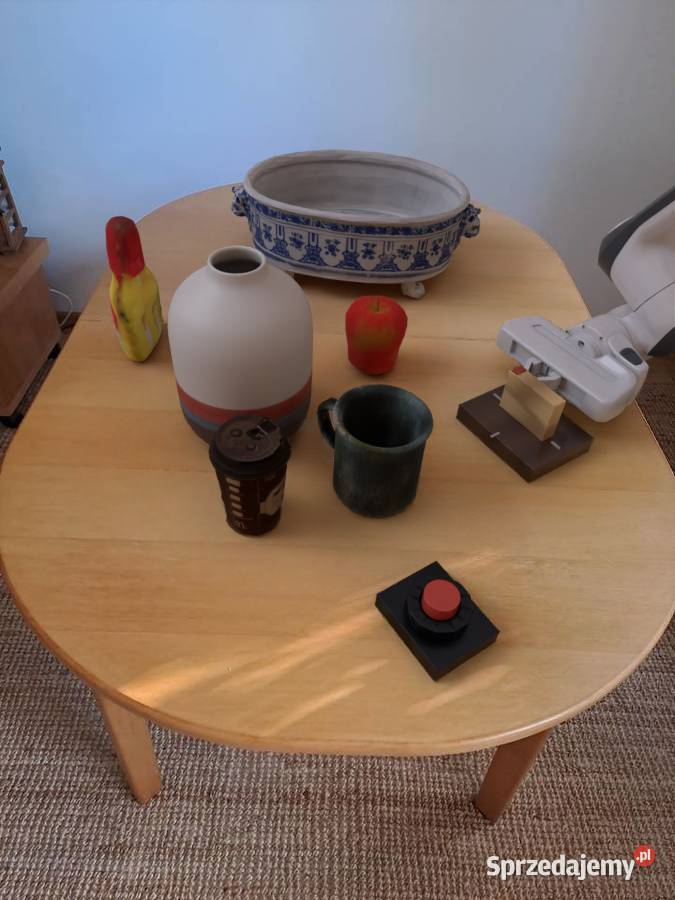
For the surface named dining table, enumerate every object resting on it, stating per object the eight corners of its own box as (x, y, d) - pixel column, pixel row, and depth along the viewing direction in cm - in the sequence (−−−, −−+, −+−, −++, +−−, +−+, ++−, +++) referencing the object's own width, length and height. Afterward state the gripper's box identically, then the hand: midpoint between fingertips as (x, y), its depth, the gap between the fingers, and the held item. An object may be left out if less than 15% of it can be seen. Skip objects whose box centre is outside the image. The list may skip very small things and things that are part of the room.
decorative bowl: (217, 292, 110) (209, 205, 100) (246, 217, 129) (241, 137, 118) (475, 314, 109) (495, 228, 99) (466, 235, 128) (482, 156, 117)
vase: (291, 477, 83) (290, 315, 66) (162, 450, 85) (129, 287, 68) (324, 391, 94) (331, 235, 77) (210, 369, 96) (192, 213, 80)
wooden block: (553, 436, 86) (567, 399, 82) (542, 441, 85) (555, 405, 81) (509, 400, 91) (521, 364, 86) (498, 405, 90) (509, 368, 85)
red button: (464, 609, 66) (468, 600, 65) (436, 627, 65) (439, 617, 64) (441, 583, 68) (444, 573, 67) (414, 599, 67) (416, 589, 66)
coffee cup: (292, 488, 81) (291, 408, 72) (293, 544, 75) (292, 465, 66) (219, 489, 81) (209, 409, 71) (215, 546, 75) (203, 466, 66)
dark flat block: (591, 449, 88) (598, 435, 87) (524, 485, 83) (530, 471, 82) (517, 390, 96) (521, 375, 94) (452, 419, 91) (455, 404, 89)
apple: (332, 373, 97) (336, 303, 89) (357, 342, 103) (362, 274, 94) (387, 391, 95) (396, 321, 86) (409, 359, 100) (419, 291, 92)
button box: (495, 642, 68) (504, 622, 65) (434, 682, 65) (440, 662, 62) (433, 571, 74) (439, 550, 71) (374, 605, 70) (377, 583, 68)
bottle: (156, 370, 96) (131, 241, 81) (111, 368, 96) (79, 239, 81) (171, 322, 104) (152, 197, 90) (130, 320, 104) (104, 195, 90)
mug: (384, 538, 77) (396, 467, 68) (289, 476, 83) (289, 403, 74) (436, 485, 83) (453, 413, 74) (344, 430, 89) (350, 358, 80)
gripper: (544, 296, 97) (472, 323, 92) (659, 373, 86) (586, 410, 80) (533, 332, 102) (464, 360, 96) (641, 410, 90) (570, 447, 85)
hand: (520, 383), depth 88 cm, fingers closed
